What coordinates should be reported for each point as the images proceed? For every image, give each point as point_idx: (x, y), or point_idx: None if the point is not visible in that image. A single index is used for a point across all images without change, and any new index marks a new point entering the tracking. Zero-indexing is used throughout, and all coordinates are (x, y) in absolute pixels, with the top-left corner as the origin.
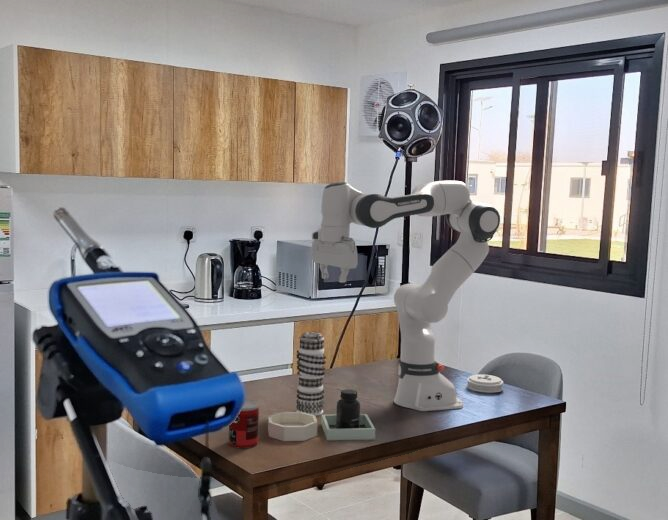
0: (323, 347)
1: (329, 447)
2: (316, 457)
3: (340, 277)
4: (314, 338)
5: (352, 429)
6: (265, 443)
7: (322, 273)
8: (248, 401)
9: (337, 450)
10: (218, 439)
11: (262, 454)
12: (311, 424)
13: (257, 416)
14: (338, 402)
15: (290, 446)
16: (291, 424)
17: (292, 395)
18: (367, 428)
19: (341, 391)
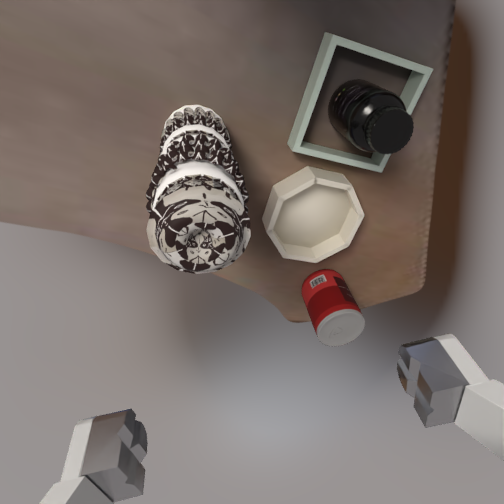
0: (217, 179)
1: (403, 172)
2: (427, 205)
3: (453, 412)
4: (241, 239)
5: None
6: (335, 258)
7: (107, 496)
8: (327, 322)
9: (423, 164)
10: (290, 309)
11: (373, 270)
12: (357, 199)
13: (353, 301)
14: (372, 151)
15: (365, 229)
16: (284, 208)
17: (42, 135)
18: (420, 86)
19: (383, 153)
